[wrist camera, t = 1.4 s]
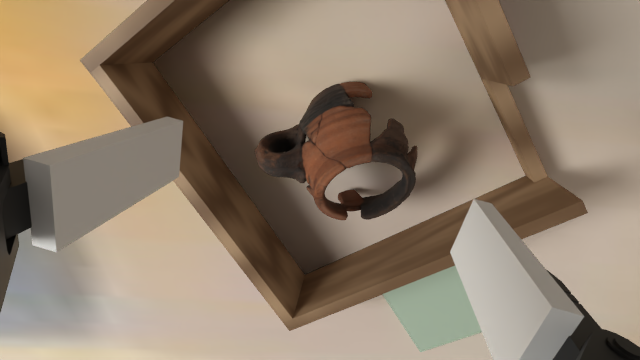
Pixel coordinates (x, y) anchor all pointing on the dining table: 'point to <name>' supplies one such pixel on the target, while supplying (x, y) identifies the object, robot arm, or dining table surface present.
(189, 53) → the dining table surface
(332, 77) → the dining table surface
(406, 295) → the mat
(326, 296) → the crate
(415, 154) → the brown hollow vessel
